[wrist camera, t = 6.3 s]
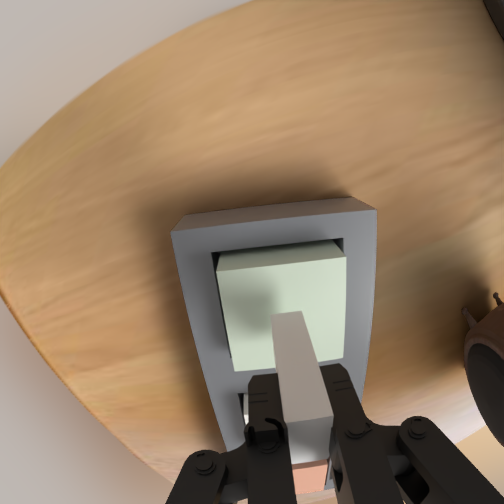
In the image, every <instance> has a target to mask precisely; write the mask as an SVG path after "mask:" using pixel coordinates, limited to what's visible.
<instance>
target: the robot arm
mask: <svg viewBox="0 0 504 504" xmlns="http://www.w3.org/2000/svg"><path fill="white" fill-rule="evenodd" d="M484 2H485V4H486V7H487V9H488V11H489V13H490V15H491V17H492V19H493V21H494V23H495V25H496V27H497V29H498V31H499V32H500V34H501V36H502V37H503V39H504V0H484ZM270 318H271V328H272V338H273V349H274V359H275V367H276V373H271V374H262V375H253V376H252V378H251V380H250V381H249V383H248V423H247V424H246V426H245V428H244V432H243V433H244V437H245V442H244V443H243V444H242V445H241V446H239V447H238V448H236V449H234V450H231V451H228V452H225V453H222V454H219V453H218V452H215V451H212V450H201V451H197V452H195V453H193V454H191V455H190V456H189V457H188V458H187V460H186V461H185V463H184V465H183V467H182V469H181V471H180V474H179V476H178V478H177V480H176V482H175V484H174V487H173V489H172V491H171V493H170V495H169V497H168V499H167V501H166V503H165V504H237V502H238V501H240V500H243V499H246V498H248V504H297V500H296V492H295V485H294V477H293V470H292V464H298V463H305V462H311V461H318V460H323V459H329V454H330V458H331V462H332V463H331V469H330V476H329V480H331V479H332V478H333V483H334V487H335V492H336V497H337V501H338V504H404V502H405V503H406V504H504V497H503V496H502V495H501V494H500V493H499V492H498V491H497V490H496V489H495V488H494V486H493V485H492V484H491V483H490V482H489V481H488V480H487V479H486V478H485V477H484V476H483V475H482V474H481V473H480V471H478V469H477V468H476V467H475V466H474V465H473V464H472V463H471V462H470V461H469V460H468V459H467V458H466V457H465V456H464V455H463V453H462V452H461V451H460V450H459V449H458V448H457V447H456V446H455V445H454V444H453V443H452V442H451V441H450V440H449V439H448V438H447V436H446V435H445V434H444V433H443V432H442V431H441V430H440V429H439V428H438V427H437V426H436V425H435V424H434V423H433V422H432V421H431V420H429V419H428V418H426V417H422V416H413V417H410V418H407V419H406V420H405V421H404V422H402V424H401V426H384V425H378V424H375V423H373V422H372V421H371V420H369V419H368V418H367V417H366V415H365V413H364V411H363V408H362V406H361V403H360V401H359V398H358V396H357V393H356V391H355V388H354V386H353V383H352V381H351V378H350V376H349V373H348V371H347V369H345V368H344V367H343V366H342V365H341V364H340V363H336V364H330V365H324V366H319V364H318V361H317V358H316V355H315V352H314V348H313V345H312V342H311V339H310V335H309V332H308V329H307V326H306V323H305V320H304V317H303V313H302V311H294V312H286V313H278V314H270ZM403 500H404V502H403Z"/></svg>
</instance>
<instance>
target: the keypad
mask: <svg viewBox="0 0 504 504" xmlns="http://www.w3.org/2000/svg"><path fill="white" fill-rule="evenodd" d="M170 233H171V239H172V244H173V249H174V254H175V259H176V263H177V268H178V273H179V278H180V282H181V287H182V291H183V296H184V300H185V304H186V308H187V313H188V317H189V321H190V325H191V329H192V333H193V337H194V341H195V345H196V348H197V352H198V356H199V360H200V363H201V367H202V371H203V374H204V378H205V381H206V385H207V388H208V392H209V395H210V398H211V402H212V405H213V408H214V412H215V415H216V418H217V421H218V424H219V428H220V431H221V434H222V437H223V440H224V443H225V446H226V449H227V452H228V451H231V450H234V449H236V448H238V447H239V446H241V445H242V444H243V443H244V442H245V437H244V433H243V432H244V428H245V426H246V423H245V418H244V393H247V392H248V383H249V381H250V380H251V378H252V376H253V375H262V374H271V373H276V368H268V369H258V370H247V371H234V366H233V361H232V355H231V350H230V345H229V340H228V335H227V329H226V324H225V319H224V313H223V308H222V302H221V296H220V291H219V285H218V279H217V273H216V271H217V266H218V262H219V258H220V253H221V251H227V250H236V249H245V248H254V247H263V246H272V245H281V244H290V243H299V242H308V241H317V240H326V239H332V240H333V242H334V243H335V244H336V245H337V246H338V247H339V249H340V250H341V251H342V252H343V253H344V255H345V256H346V312H345V334H344V351H343V358H340V359H334V360H328V361H322V362H318V364H319V366H324V365H330V364H336V363H340V364H341V365H342V366H343V367H344V368H345V369H347V371H348V373H349V376H350V378H351V381H352V383H353V386H354V388H355V391H356V393H357V396H358V398H359V401H360V403H361V401H362V395H363V389H364V383H365V376H366V369H367V362H368V354H369V346H370V337H371V327H372V317H373V305H374V291H375V273H376V243H377V209H375V208H373V207H371V206H369V205H367V204H366V203H364V202H362V201H360V200H358V199H356V198H354V197H347V198H335V199H323V200H312V201H301V202H291V203H281V204H272V205H262V206H253V207H245V208H236V209H228V210H220V211H212V212H204V213H196V214H189V215H184V216H183V217H182V219H181V220H180V221H179V222H178V223H177V224H176V226H175V227H174V228H173V229H172V230H171V231H170ZM327 463H328V466H327V473H326V479H325V485H324V490H327V489H332V488H335V487H334V483H333V478H332V479H331V480H329V476H330V469H331V463H332V462H331V458H330V454H329V459H327Z"/></svg>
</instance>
